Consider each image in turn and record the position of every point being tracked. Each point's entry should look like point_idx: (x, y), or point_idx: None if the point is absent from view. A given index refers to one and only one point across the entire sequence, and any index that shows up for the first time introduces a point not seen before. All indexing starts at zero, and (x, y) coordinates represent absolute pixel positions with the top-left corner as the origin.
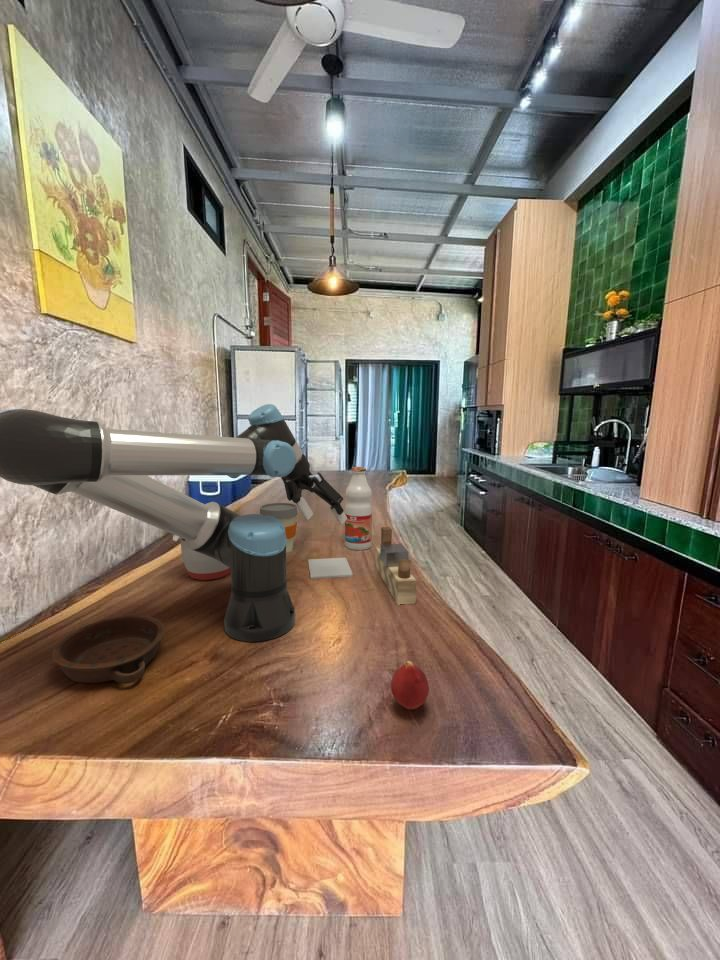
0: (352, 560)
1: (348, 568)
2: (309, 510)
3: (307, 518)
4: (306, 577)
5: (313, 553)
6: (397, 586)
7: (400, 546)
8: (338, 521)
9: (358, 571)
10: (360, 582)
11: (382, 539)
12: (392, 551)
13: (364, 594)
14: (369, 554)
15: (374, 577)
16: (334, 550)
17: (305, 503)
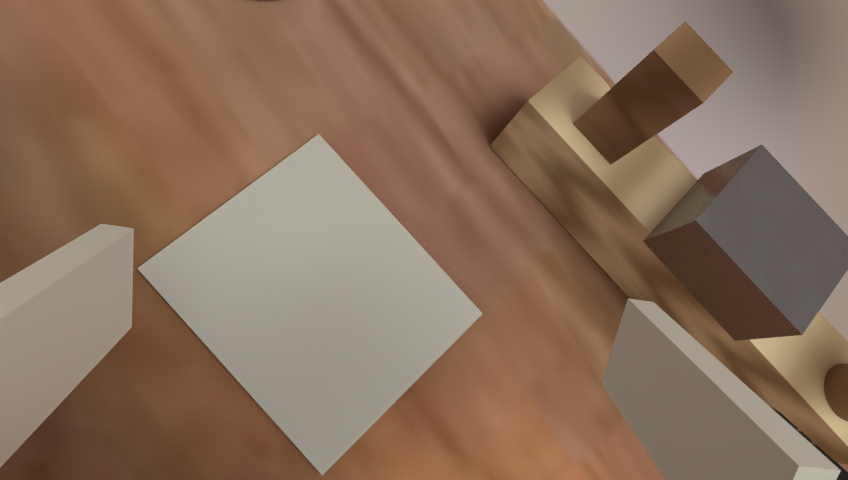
0: (355, 134)
1: (420, 259)
2: (93, 280)
3: (120, 335)
4: (286, 469)
5: (85, 145)
6: (832, 454)
7: (787, 193)
8: (623, 411)
9: (463, 244)
10: (545, 352)
11: (634, 115)
12: (808, 294)
13: (629, 452)
14: (381, 22)
15: (560, 266)
16: (176, 47)
17: (14, 340)
